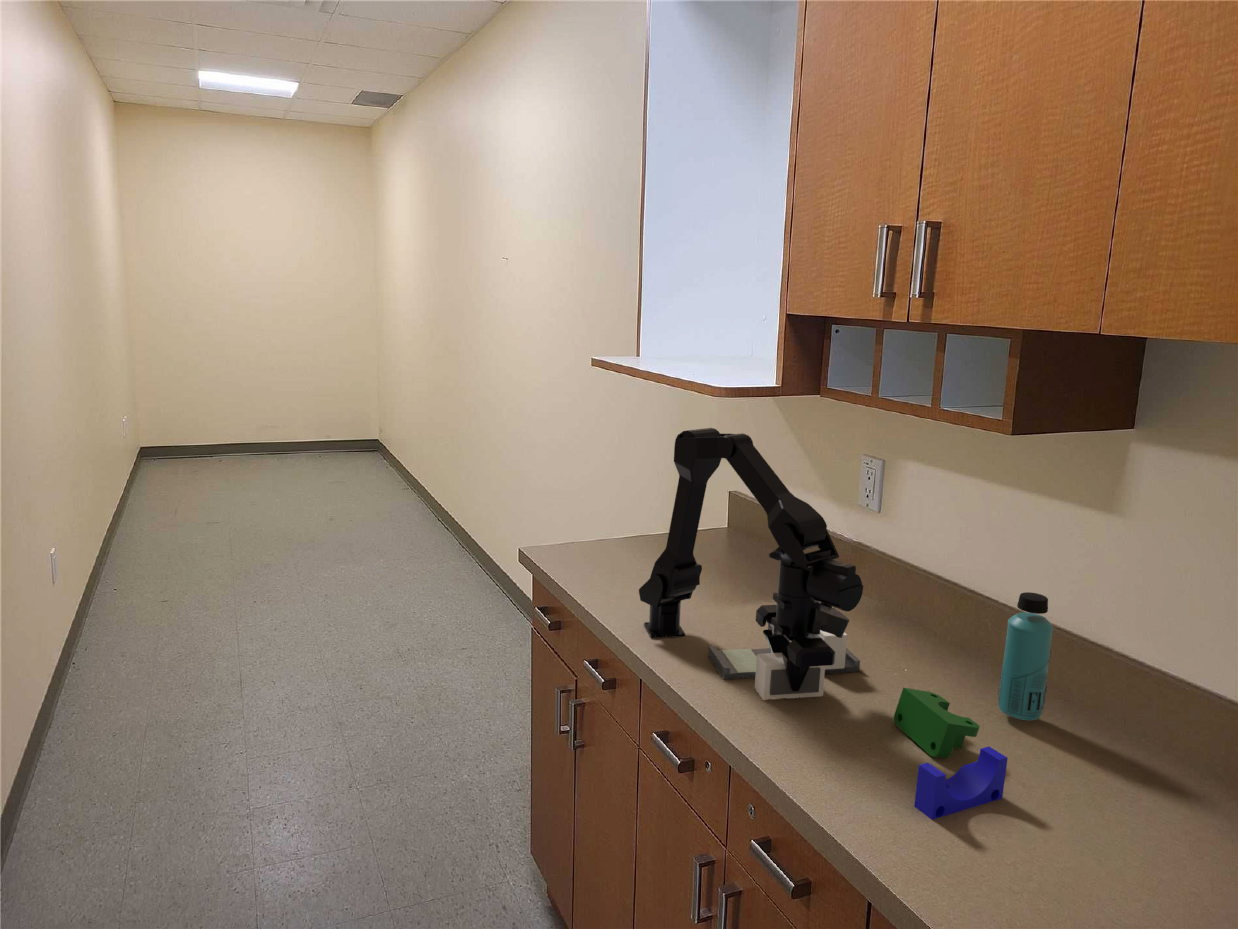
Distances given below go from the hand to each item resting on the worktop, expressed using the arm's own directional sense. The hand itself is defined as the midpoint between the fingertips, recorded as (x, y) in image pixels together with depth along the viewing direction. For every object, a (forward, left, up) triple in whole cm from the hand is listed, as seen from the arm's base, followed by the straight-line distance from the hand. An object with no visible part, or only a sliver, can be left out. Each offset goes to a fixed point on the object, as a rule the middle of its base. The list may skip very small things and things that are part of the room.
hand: (789, 684), depth 141 cm
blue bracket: (+31, +10, -2) cm, 33 cm away
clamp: (+17, +16, -2) cm, 23 cm away
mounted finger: (-11, +10, 0) cm, 14 cm away
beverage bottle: (+13, +32, -2) cm, 35 cm away
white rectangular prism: (0, 0, -2) cm, 2 cm away
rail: (-11, +3, -2) cm, 11 cm away
